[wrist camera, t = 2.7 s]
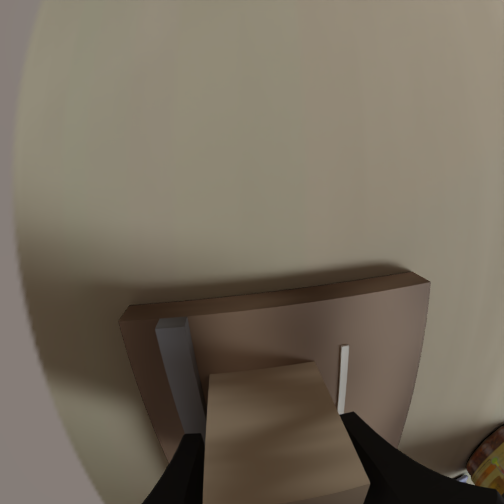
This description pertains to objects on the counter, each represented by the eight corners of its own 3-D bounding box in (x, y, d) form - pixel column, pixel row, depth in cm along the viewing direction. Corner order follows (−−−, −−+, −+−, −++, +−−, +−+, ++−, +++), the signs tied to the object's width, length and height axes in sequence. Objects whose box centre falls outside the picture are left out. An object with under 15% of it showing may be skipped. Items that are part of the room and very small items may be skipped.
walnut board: (412, 271, 12) (441, 288, 10) (360, 516, 18) (367, 535, 15) (129, 305, 12) (111, 331, 10) (216, 538, 17) (217, 559, 15)
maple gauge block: (329, 358, 11) (392, 475, 6) (324, 441, 12) (361, 541, 7) (209, 374, 11) (202, 509, 5) (227, 455, 12) (232, 563, 6)
